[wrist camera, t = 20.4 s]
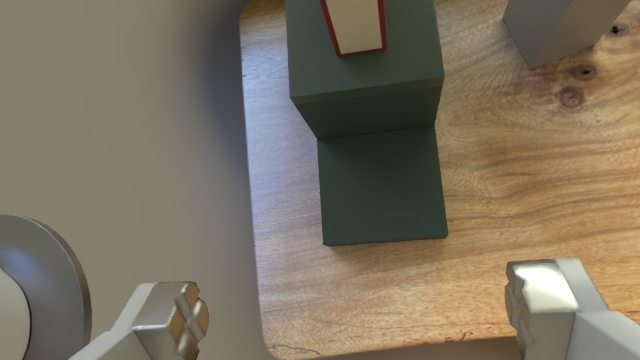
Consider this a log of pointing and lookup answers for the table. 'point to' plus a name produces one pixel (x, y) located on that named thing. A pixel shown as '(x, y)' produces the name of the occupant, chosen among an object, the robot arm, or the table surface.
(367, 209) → the shelf
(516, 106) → the table surface
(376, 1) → the book
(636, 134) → the table surface
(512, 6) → the perfume bottle
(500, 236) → the table surface
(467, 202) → the table surface
